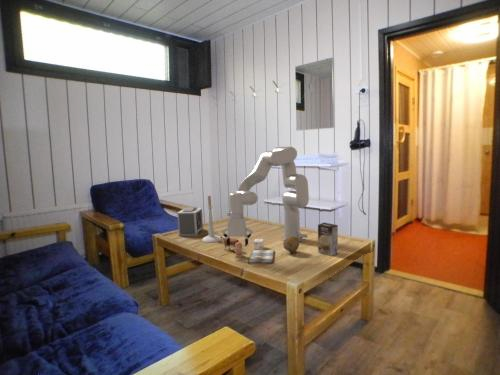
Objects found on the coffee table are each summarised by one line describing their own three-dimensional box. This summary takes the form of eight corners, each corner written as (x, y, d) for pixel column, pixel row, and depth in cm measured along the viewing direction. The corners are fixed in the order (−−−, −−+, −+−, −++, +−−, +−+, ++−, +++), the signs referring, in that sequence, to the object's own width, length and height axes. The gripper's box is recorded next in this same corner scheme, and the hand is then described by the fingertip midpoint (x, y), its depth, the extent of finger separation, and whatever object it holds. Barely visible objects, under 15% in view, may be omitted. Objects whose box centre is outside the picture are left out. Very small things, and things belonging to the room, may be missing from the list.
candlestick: (199, 239, 206) (196, 195, 202) (217, 235, 211) (214, 192, 207) (205, 244, 194) (202, 197, 190) (224, 240, 200) (222, 195, 196)
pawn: (243, 254, 172) (243, 240, 171) (242, 257, 168) (241, 243, 167) (235, 254, 173) (234, 240, 172) (234, 257, 168) (233, 243, 167)
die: (263, 247, 184) (263, 238, 183) (262, 249, 179) (262, 241, 178) (255, 247, 185) (254, 238, 184) (254, 249, 180) (254, 241, 179)
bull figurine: (224, 246, 187) (223, 233, 186) (240, 250, 179) (240, 237, 178) (219, 248, 184) (218, 235, 183) (235, 253, 175) (235, 239, 174)
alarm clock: (196, 236, 213) (194, 210, 210) (178, 236, 215) (176, 210, 212) (204, 229, 231) (202, 205, 228) (187, 229, 233) (185, 205, 230)
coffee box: (317, 252, 170) (317, 224, 168) (323, 249, 175) (323, 222, 173) (332, 256, 164) (331, 227, 162) (338, 253, 168) (338, 224, 166)
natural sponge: (291, 256, 165) (290, 239, 164) (280, 252, 173) (279, 235, 171) (302, 252, 171) (302, 235, 169) (291, 249, 178) (291, 232, 177)
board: (274, 251, 175) (274, 250, 175) (273, 263, 157) (273, 261, 157) (252, 251, 176) (251, 250, 176) (248, 263, 159) (248, 261, 159)
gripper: (219, 216, 165) (220, 247, 167) (251, 216, 163) (252, 247, 164) (222, 213, 172) (223, 243, 174) (253, 213, 170) (253, 243, 172)
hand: (237, 245), depth 169 cm, fingers open, 9 cm apart
